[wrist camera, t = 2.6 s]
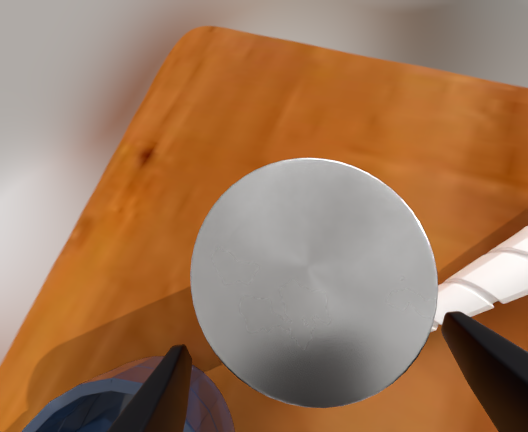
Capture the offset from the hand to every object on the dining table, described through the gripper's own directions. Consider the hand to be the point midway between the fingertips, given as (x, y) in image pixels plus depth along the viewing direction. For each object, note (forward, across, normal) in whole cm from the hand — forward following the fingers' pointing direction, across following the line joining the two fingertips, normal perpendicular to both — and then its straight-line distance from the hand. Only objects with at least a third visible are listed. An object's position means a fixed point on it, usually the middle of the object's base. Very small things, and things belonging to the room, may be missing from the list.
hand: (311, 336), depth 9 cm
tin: (+8, 0, +5) cm, 10 cm away
